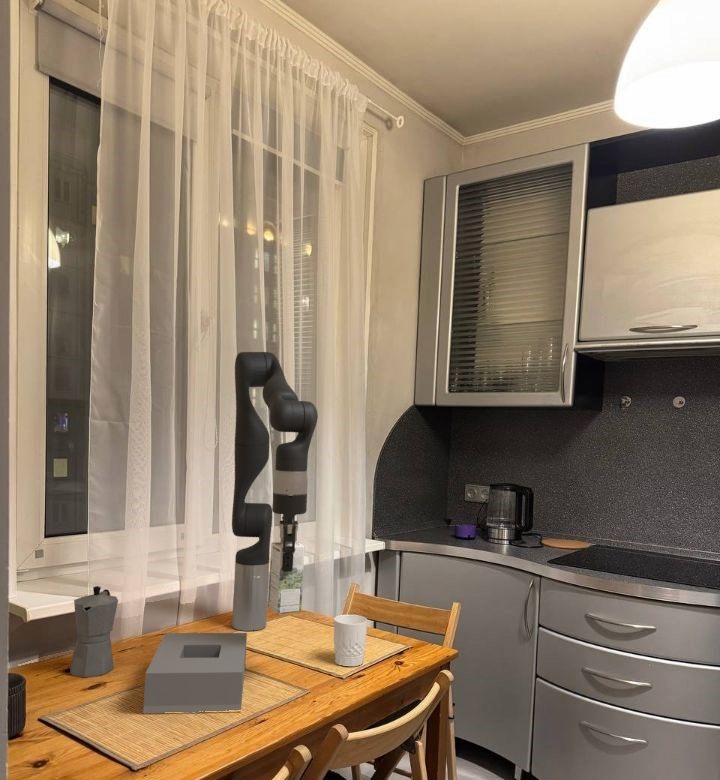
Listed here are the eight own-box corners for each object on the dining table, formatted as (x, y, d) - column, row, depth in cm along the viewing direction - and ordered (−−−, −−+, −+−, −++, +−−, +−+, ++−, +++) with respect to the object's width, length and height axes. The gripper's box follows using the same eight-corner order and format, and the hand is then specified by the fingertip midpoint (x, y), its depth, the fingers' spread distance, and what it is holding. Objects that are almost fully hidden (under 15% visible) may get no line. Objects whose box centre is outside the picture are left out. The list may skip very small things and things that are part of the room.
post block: (163, 667, 146) (165, 633, 146) (245, 666, 148) (246, 632, 149) (143, 714, 122) (145, 673, 123) (240, 712, 125) (242, 672, 125)
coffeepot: (104, 681, 137) (110, 594, 138) (58, 681, 136) (63, 593, 137) (124, 656, 152) (129, 577, 153) (83, 655, 151) (88, 576, 152)
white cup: (339, 670, 148) (341, 625, 149) (327, 658, 156) (329, 615, 156) (371, 666, 152) (372, 622, 152) (357, 655, 159) (359, 613, 159)
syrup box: (291, 605, 146) (294, 540, 147) (302, 612, 141) (305, 544, 142) (267, 608, 144) (270, 541, 145) (277, 615, 139) (280, 546, 139)
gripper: (272, 487, 150) (269, 560, 150) (273, 494, 136) (269, 575, 135) (305, 488, 151) (302, 560, 151) (309, 495, 137) (305, 575, 136)
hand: (286, 567), depth 143 cm, fingers closed on syrup box, 7 cm apart
